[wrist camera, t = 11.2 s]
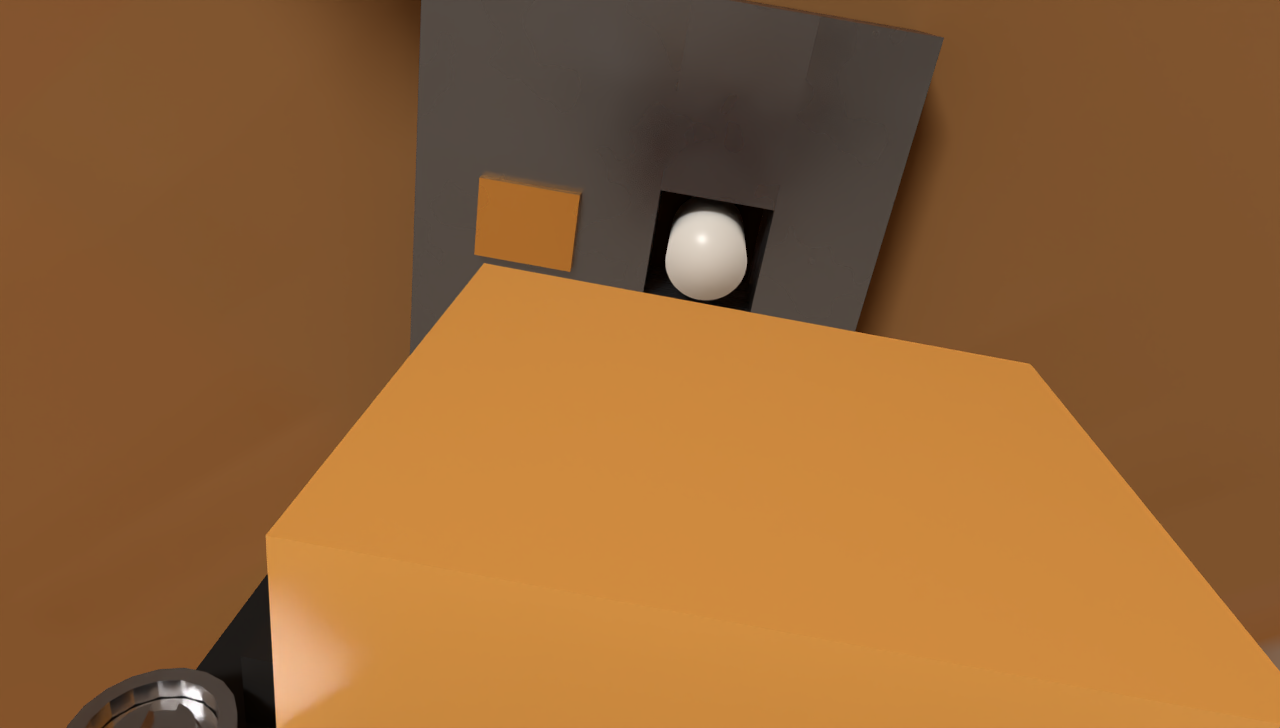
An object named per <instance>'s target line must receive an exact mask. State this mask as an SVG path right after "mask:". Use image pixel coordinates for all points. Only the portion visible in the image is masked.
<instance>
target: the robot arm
mask: <svg viewBox="0 0 1280 728" xmlns="http://www.w3.org/2000/svg"><path fill="white" fill-rule="evenodd" d="M67 728H276V711H275V693H274V675H273V657H272V639H271V621H270V603H269V585H268V574H267V575H266V577H265V578H264V579H263V581H262V582H261V583H260V585H259V586H258V587H257V589H256V590H255V591H254V593H253V594H252V595H251V597H250V598H249V599H248V601H247V602H246V603H245V605H244V606H243V607H242V609H241V610H240V611H239V613H238V614H237V615H236V617H235V618H234V619H233V621H232V622H231V623H230V625H229V626H228V627H227V629H226V630H225V631H224V633H223V634H222V636H221V637H220V638H219V640H218V641H217V642H216V644H215V645H214V646H213V648H212V649H211V650H210V652H209V653H208V654H207V656H206V657H205V658H204V660H203V661H202V662H201V664H200V665H199V666H198V668H197V669H196V670H193V669H187V668H175V669H159V670H155V671H151V672H148V673H144V674H140V675H137V676H133V677H131V678H129V679H126V680H124V681H122V682H120V683H118V684H116V685H114V686H112V687H110V688H108V689H106V690H105V691H103V692H102V693H101V694H99V695H98V696H97V697H95V698H94V699H93V700H91V701H90V702H89V703H87V704H86V705H85V706H84V707H83V708H82V709H81V710H80V711H79V713H78V714H77V715H76V716H75V717H74V719H73V720H72V721H71V722H70V723H69V724H68V726H67Z"/></svg>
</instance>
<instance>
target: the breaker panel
mask: <svg viewBox="0 0 1280 728" xmlns="http://www.w3.org/2000/svg"><path fill="white" fill-rule="evenodd" d="M943 39H944V38H942V37H939V36H935V35H932V34H928V33H924V32H921V31H916V30H911V29H905V28H899V27H894V26H888V25H882V24H876V23H871V22H865V21H859V20H854V19H848V18H842V17H837V16H831V15H825V14H819V13H814V12H808V11H802V10H797V9H791V8H785V7H779V6H774V5H768V4H762V3H757V2H751V1H745V0H421V26H420V58H419V89H418V121H417V152H416V184H415V216H414V247H413V279H412V310H411V342H410V355H411V354H412V352H413V351H414V350H415V349H416V347H417V346H418V345H419V344H420V342H421V341H422V340H423V339H424V337H425V336H426V335H427V334H428V332H429V331H430V330H431V329H432V327H433V326H434V325H435V324H436V322H437V321H438V320H439V319H440V317H441V316H442V315H443V314H444V312H445V311H446V310H447V309H448V307H449V306H450V305H451V304H452V303H453V301H454V300H455V299H456V298H457V296H458V295H459V294H460V293H461V291H462V290H463V289H464V288H465V286H466V285H467V284H468V283H469V281H470V280H471V279H472V278H473V276H474V275H475V274H476V273H477V271H478V270H479V269H480V268H481V266H482V265H483V264H484V263H486V264H491V265H497V266H502V267H508V268H513V269H519V270H524V271H529V272H535V273H540V274H546V275H551V276H556V277H562V278H567V279H573V280H578V281H584V282H589V283H594V284H600V285H605V286H611V287H616V288H621V289H627V290H632V291H638V292H643V293H649V294H654V295H659V296H665V297H670V298H676V299H681V300H686V301H692V302H697V303H703V304H708V305H713V306H719V307H724V308H730V309H735V310H741V311H746V312H751V313H757V314H762V315H768V316H773V317H778V318H784V319H789V320H795V321H800V322H806V323H811V324H816V325H822V326H827V327H833V328H838V329H843V330H849V331H854V332H855V330H856V326H857V323H858V320H859V317H860V313H861V310H862V307H863V303H864V300H865V297H866V293H867V290H868V287H869V284H870V280H871V277H872V274H873V270H874V267H875V264H876V260H877V257H878V254H879V250H880V247H881V244H882V241H883V237H884V234H885V231H886V227H887V224H888V221H889V217H890V214H891V211H892V207H893V204H894V201H895V198H896V194H897V191H898V188H899V184H900V181H901V178H902V174H903V171H904V168H905V165H906V161H907V158H908V155H909V151H910V148H911V145H912V141H913V138H914V135H915V131H916V128H917V125H918V122H919V118H920V115H921V112H922V108H923V105H924V102H925V98H926V95H927V92H928V88H929V85H930V82H931V79H932V75H933V72H934V69H935V65H936V62H937V59H938V55H939V52H940V49H941V46H942V42H943ZM662 191H668V192H674V193H679V194H685V195H691V196H696V197H702V198H707V199H713V200H719V201H724V202H730V203H735V204H741V205H747V206H752V207H758V208H763V209H764V210H763V214H762V219H761V223H760V227H759V232H758V236H757V240H756V245H755V249H754V253H753V258H752V262H751V266H750V271H749V275H748V279H747V283H744V282H740V284H739V285H738V286H737V287H736V288H735V289H734V290H733V291H732V292H730V293H729V294H727V295H726V296H724V297H721V298H718V299H714V300H698V299H694V298H691V297H688V296H686V295H685V294H683V293H682V292H680V291H679V290H678V289H677V288H676V287H675V286H674V285H673V284H672V282H671V280H670V279H669V276H668V274H667V271H666V268H660V267H655V266H650V262H651V256H652V250H653V244H654V238H655V232H656V227H657V221H658V215H659V209H660V203H661V197H662Z"/></svg>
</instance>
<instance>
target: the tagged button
mask: <svg viewBox="0 0 1280 728" xmlns="http://www.w3.org/2000/svg"><path fill="white" fill-rule="evenodd" d="M665 263H666V271H667V274H668V276H669V279H670V280H671V282H672V284H673V285H674V286H675V287H676V288H677V289H678V290H679V291H680V292H682V293H683V294H685V295H686V296H688V297H691V298H694V299H698V300H714V299H718V298H721V297H724V296H726V295H727V294H729V293H730V292H732V291H733V290H734V289H735V288H736V287H737V286H738V285H739V284H740V282H741V281H742V279H743V277H744V275H745V271H746V267H747V255H746V244H745V234H744V224H743V219H742V216H741V214H740V212H739V210H738V209H737V208H736V206H735V205H734V204H733V203H730V202H724V201H719V200H713V199H707V198H702V197H696V196H695V197H692V198H690V199H689V200H687V201H686V202H684V203H683V204H682V205H681V206H680V207H679V209H678V210H677V212H676V213H675V216H674V218H673V222H672V226H671V231H670V237H669V242H668V247H667V252H666V259H665Z"/></svg>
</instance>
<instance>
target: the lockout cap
mask: <svg viewBox="0 0 1280 728" xmlns="http://www.w3.org/2000/svg"><path fill="white" fill-rule="evenodd" d="M266 550H267V567H268V585H269V603H270V621H271V639H272V657H273V675H274V693H275V711H276V728H1280V671H1279V670H1278V669H1277V667H1276V666H1275V665H1274V664H1273V663H1272V662H1271V660H1270V659H1269V658H1268V656H1267V655H1266V654H1265V653H1264V651H1263V650H1262V649H1261V648H1260V647H1259V645H1258V644H1257V643H1256V642H1255V640H1254V639H1253V638H1252V637H1251V635H1250V634H1249V633H1248V632H1247V630H1246V629H1245V628H1244V627H1243V626H1242V624H1241V623H1240V622H1239V621H1238V619H1237V618H1236V617H1235V616H1234V614H1233V613H1232V612H1231V611H1230V610H1229V608H1228V607H1227V606H1226V605H1225V603H1224V602H1223V601H1222V600H1221V598H1220V597H1219V596H1218V595H1217V594H1216V592H1215V591H1214V590H1213V589H1212V587H1211V586H1210V585H1209V584H1208V582H1207V581H1206V580H1205V579H1204V577H1203V576H1202V575H1201V574H1200V573H1199V571H1198V570H1197V569H1196V568H1195V566H1194V565H1193V564H1192V563H1191V561H1190V560H1189V559H1188V558H1187V557H1186V555H1185V554H1184V553H1183V552H1182V550H1181V549H1180V548H1179V547H1178V545H1177V544H1176V543H1175V542H1174V541H1173V539H1172V538H1171V537H1170V536H1169V534H1168V533H1167V532H1166V531H1165V529H1164V528H1163V527H1162V526H1161V524H1160V523H1159V522H1158V521H1157V520H1156V518H1155V517H1154V516H1153V515H1152V513H1151V512H1150V511H1149V510H1148V508H1147V507H1146V506H1145V505H1144V504H1143V502H1142V501H1141V500H1140V499H1139V497H1138V496H1137V495H1136V494H1135V492H1134V491H1133V490H1132V489H1131V488H1130V486H1129V485H1128V484H1127V483H1126V481H1125V480H1124V479H1123V478H1122V476H1121V475H1120V474H1119V473H1118V471H1117V470H1116V469H1115V468H1114V467H1113V465H1112V464H1111V463H1110V462H1109V460H1108V459H1107V458H1106V457H1105V455H1104V454H1103V453H1102V452H1101V451H1100V449H1099V448H1098V447H1097V446H1096V444H1095V443H1094V442H1093V441H1092V439H1091V438H1090V437H1089V436H1088V435H1087V433H1086V432H1085V431H1084V430H1083V428H1082V427H1081V426H1080V425H1079V423H1078V422H1077V421H1076V420H1075V419H1074V417H1073V416H1072V415H1071V414H1070V412H1069V411H1068V410H1067V409H1066V407H1065V406H1064V405H1063V404H1062V402H1061V401H1060V400H1059V399H1058V398H1057V396H1056V395H1055V394H1054V393H1053V391H1052V390H1051V389H1050V388H1049V386H1048V385H1047V384H1046V383H1045V382H1044V380H1043V379H1042V378H1041V377H1040V375H1039V374H1038V373H1037V372H1036V370H1035V369H1034V368H1033V367H1032V366H1031V364H1028V363H1022V362H1017V361H1011V360H1006V359H1001V358H995V357H990V356H984V355H979V354H973V353H968V352H963V351H957V350H952V349H946V348H941V347H936V346H930V345H925V344H919V343H914V342H908V341H903V340H898V339H892V338H887V337H881V336H876V335H871V334H865V333H860V332H854V331H849V330H843V329H838V328H833V327H827V326H822V325H816V324H811V323H806V322H800V321H795V320H789V319H784V318H778V317H773V316H768V315H762V314H757V313H751V312H746V311H741V310H735V309H730V308H724V307H719V306H713V305H708V304H703V303H697V302H692V301H686V300H681V299H676V298H670V297H665V296H659V295H654V294H649V293H643V292H638V291H632V290H627V289H621V288H616V287H611V286H605V285H600V284H594V283H589V282H584V281H578V280H573V279H567V278H562V277H556V276H551V275H546V274H540V273H535V272H529V271H524V270H519V269H513V268H508V267H502V266H497V265H491V264H486V263H484V264H483V265H482V266H481V268H480V269H479V270H478V271H477V273H476V274H475V275H474V276H473V278H472V279H471V280H470V281H469V283H468V284H467V285H466V286H465V288H464V289H463V290H462V291H461V293H460V294H459V295H458V296H457V298H456V299H455V300H454V301H453V303H452V304H451V305H450V306H449V307H448V309H447V310H446V311H445V312H444V314H443V315H442V316H441V317H440V319H439V320H438V321H437V322H436V324H435V325H434V326H433V327H432V329H431V330H430V331H429V332H428V334H427V335H426V336H425V337H424V339H423V340H422V341H421V342H420V344H419V345H418V346H417V347H416V349H415V350H414V351H413V352H412V354H411V355H410V356H409V357H408V359H407V360H406V361H405V362H404V364H403V365H402V366H401V367H400V369H399V370H398V371H397V372H396V374H395V375H394V376H393V377H392V379H391V380H390V381H389V382H388V384H387V385H386V386H385V387H384V389H383V390H382V391H381V392H380V394H379V395H378V396H377V397H376V399H375V400H374V401H373V402H372V404H371V405H370V406H369V407H368V409H367V410H366V411H365V412H364V413H363V415H362V416H361V417H360V418H359V420H358V421H357V422H356V423H355V425H354V426H353V427H352V428H351V430H350V431H349V432H348V433H347V435H346V436H345V437H344V438H343V440H342V441H341V442H340V443H339V445H338V446H337V447H336V448H335V450H334V451H333V452H332V453H331V455H330V456H329V457H328V458H327V460H326V461H325V462H324V463H323V465H322V466H321V467H320V468H319V470H318V471H317V472H316V473H315V475H314V476H313V477H312V478H311V480H310V481H309V482H308V483H307V485H306V486H305V487H304V488H303V490H302V491H301V492H300V493H299V495H298V496H297V497H296V498H295V500H294V501H293V502H292V503H291V505H290V506H289V507H288V508H287V510H286V511H285V512H284V513H283V514H282V516H281V517H280V518H279V519H278V521H277V522H276V523H275V524H274V526H273V527H272V528H271V529H270V531H269V532H268V533H267V534H266Z"/></svg>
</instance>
